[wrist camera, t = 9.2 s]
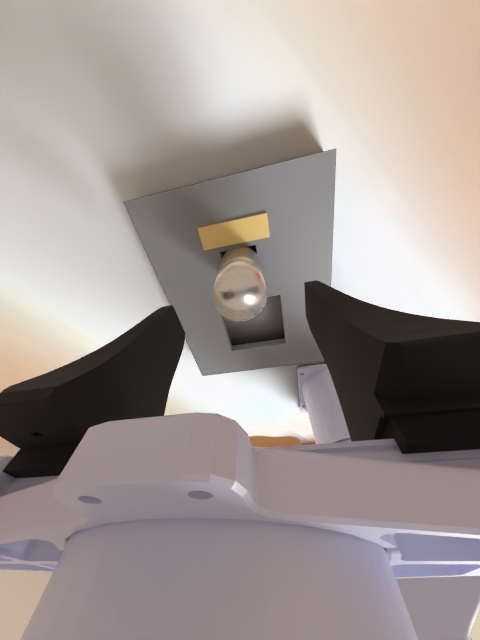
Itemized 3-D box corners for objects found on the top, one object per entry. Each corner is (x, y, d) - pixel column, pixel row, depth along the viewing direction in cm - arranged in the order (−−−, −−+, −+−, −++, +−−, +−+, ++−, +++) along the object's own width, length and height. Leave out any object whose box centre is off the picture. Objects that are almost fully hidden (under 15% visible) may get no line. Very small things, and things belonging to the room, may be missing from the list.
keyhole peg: (266, 271, 20) (277, 321, 13) (225, 279, 20) (215, 330, 14) (260, 226, 18) (269, 259, 11) (213, 236, 18) (196, 273, 12)
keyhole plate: (321, 344, 25) (328, 361, 23) (205, 360, 27) (202, 377, 24) (323, 151, 15) (337, 148, 13) (138, 198, 17) (121, 202, 14)
